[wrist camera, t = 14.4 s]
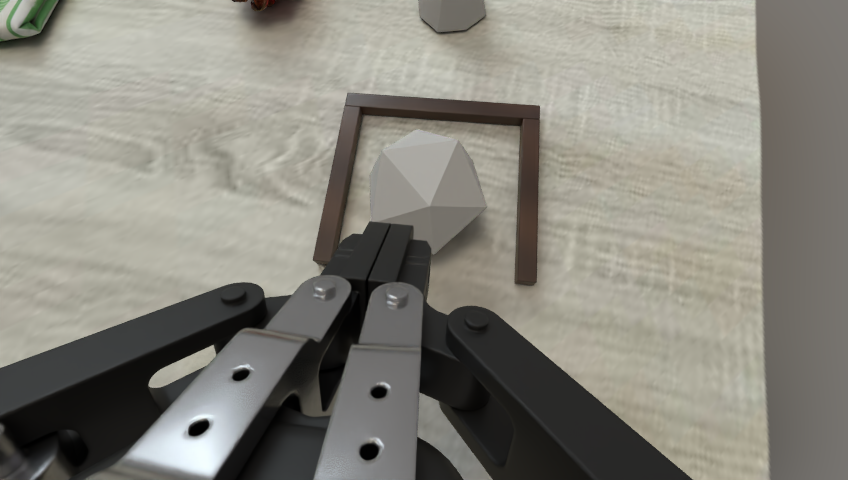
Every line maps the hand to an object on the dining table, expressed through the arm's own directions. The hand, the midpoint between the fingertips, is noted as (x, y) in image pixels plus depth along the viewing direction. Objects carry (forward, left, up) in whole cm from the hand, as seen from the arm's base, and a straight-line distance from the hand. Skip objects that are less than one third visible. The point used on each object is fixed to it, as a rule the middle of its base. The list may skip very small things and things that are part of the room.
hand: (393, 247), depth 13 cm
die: (+9, +2, -18) cm, 20 cm away
